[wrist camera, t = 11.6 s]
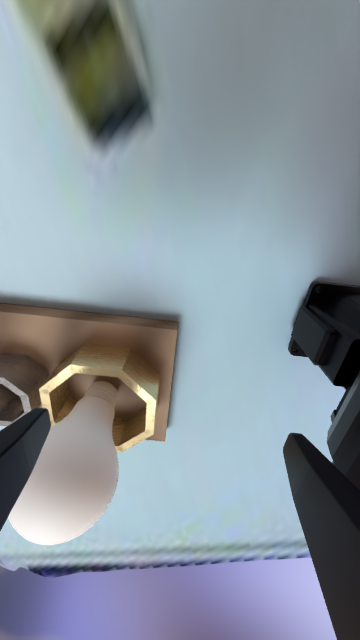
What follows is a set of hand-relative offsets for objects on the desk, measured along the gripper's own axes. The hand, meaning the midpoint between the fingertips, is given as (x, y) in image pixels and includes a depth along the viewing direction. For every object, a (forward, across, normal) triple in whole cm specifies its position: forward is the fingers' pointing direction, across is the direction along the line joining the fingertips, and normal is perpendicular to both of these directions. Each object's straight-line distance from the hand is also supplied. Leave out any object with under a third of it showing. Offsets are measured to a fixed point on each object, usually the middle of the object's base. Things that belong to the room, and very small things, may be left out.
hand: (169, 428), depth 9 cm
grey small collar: (+11, +14, +8) cm, 19 cm away
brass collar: (+10, +6, +8) cm, 14 cm away
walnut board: (+12, +9, +8) cm, 17 cm away
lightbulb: (+11, +6, +8) cm, 15 cm away
